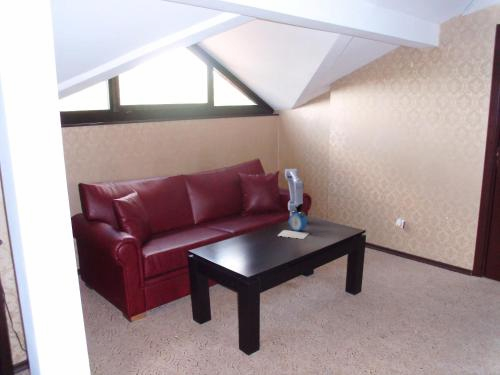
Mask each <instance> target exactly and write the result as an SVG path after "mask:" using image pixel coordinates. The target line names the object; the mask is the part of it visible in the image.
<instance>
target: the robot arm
mask: <svg viewBox="0 0 500 375" xmlns="http://www.w3.org/2000/svg"><path fill="white" fill-rule="evenodd" d="M298 175H299V172H298V168H286V169H284V177H285V181H287V184H288V189H289V196H290V200H289V201H288V202H287V209H288V211H289V217H290V216H291V215H292V212H293V211H295V210H296V211H298V213H299V212H302V209H303V206H304V202H303V201H304V197H303V195H304V194H303V189H304V187H305V186H304V181H303V180H301V178H300V177H299V176H298Z"/></svg>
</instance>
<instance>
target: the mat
mask: <svg viewBox="0 0 500 375" xmlns="http://www.w3.org/2000/svg"><path fill="white" fill-rule="evenodd" d="M308 235H310V232H305V231H304V232H302V231H300V232H299V231H295V230H287V229H283V230H281V231H280V232H279V233H278V234H277V237H280V236H282V238H288V237H290V238H289V239H296V238H298V240H305V238H307V236H308Z"/></svg>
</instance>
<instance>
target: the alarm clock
mask: <svg viewBox="0 0 500 375" xmlns="http://www.w3.org/2000/svg"><path fill="white" fill-rule="evenodd" d="M305 214H306V213H305V212H304V211H301V212H299V213H298V211H296V210H295V211H293V212H292V215H291V216H290V215H289V219H288V224H289V226H290V228H291V231H296V232H301V231H302V230H305V229H306V227H307V226H308V225H307V224H308V221H307V217H306V216H305Z"/></svg>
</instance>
